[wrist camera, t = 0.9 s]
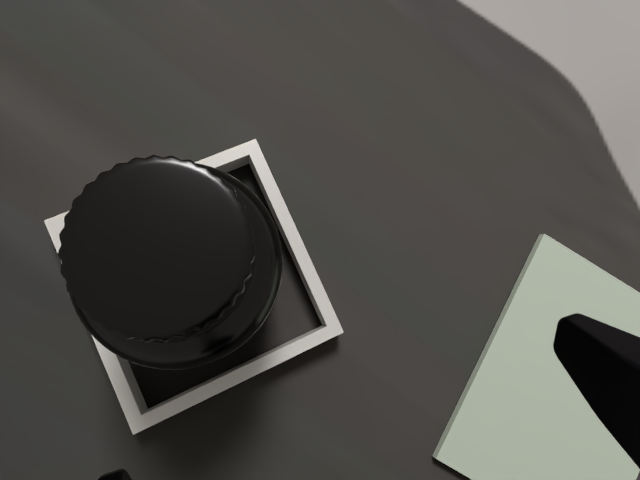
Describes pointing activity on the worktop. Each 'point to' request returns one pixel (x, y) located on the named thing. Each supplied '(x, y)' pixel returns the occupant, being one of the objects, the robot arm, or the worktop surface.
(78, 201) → the supplement bottle
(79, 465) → the worktop surface
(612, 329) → the robot arm
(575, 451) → the mat
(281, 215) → the white square frame
